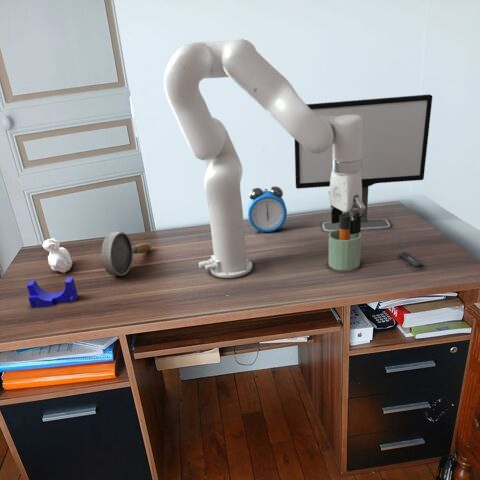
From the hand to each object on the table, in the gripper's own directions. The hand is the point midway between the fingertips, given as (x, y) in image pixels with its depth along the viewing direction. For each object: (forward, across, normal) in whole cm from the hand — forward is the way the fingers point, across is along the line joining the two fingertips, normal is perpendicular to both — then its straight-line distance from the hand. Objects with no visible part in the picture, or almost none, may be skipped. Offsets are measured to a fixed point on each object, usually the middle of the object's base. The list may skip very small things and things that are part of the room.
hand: (345, 227), depth 141 cm
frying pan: (+11, -33, -57) cm, 67 cm away
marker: (+11, 0, 0) cm, 11 cm away
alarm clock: (+12, -38, -8) cm, 41 cm away
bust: (+11, -42, -78) cm, 90 cm away
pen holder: (+12, 0, 0) cm, 12 cm away
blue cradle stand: (+11, -19, -81) cm, 84 cm away
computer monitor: (+12, -26, +20) cm, 34 cm away
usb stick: (+12, +8, +17) cm, 22 cm away
